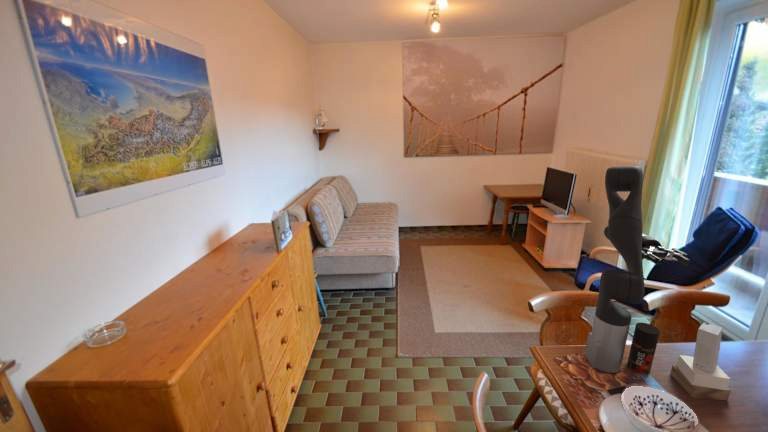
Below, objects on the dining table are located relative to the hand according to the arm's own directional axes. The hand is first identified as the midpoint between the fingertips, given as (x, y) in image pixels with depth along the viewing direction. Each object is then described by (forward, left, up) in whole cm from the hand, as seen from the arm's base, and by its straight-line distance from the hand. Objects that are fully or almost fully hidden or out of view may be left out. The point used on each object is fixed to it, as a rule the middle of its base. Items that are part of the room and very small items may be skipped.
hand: (673, 262), depth 106 cm
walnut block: (+1, -19, -32) cm, 38 cm away
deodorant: (-12, -13, -32) cm, 37 cm away
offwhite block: (+1, -20, -28) cm, 34 cm away
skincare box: (+1, -19, -24) cm, 31 cm away
